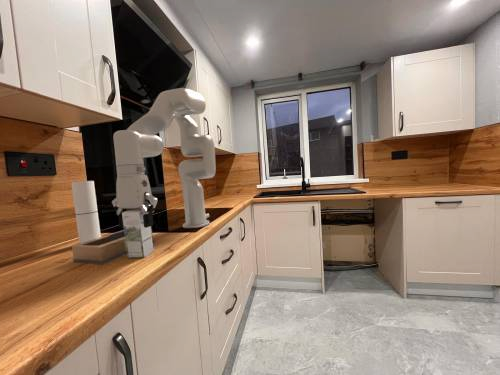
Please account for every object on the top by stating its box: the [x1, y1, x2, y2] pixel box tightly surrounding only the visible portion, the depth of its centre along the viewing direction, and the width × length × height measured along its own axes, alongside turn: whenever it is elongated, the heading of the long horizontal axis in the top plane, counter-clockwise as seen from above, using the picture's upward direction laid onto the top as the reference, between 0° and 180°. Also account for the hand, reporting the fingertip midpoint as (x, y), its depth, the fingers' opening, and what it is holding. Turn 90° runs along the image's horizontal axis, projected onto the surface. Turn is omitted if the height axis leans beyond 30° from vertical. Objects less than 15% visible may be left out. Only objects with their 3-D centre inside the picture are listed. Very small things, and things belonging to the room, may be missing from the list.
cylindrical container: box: [71, 180, 102, 244], centre depth 89 cm, size 7×7×25 cm
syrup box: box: [122, 208, 155, 259], centre depth 70 cm, size 6×6×14 cm
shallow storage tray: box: [71, 228, 154, 265], centre depth 76 cm, size 20×13×5 cm, turn 161°
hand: (136, 226), depth 69 cm, fingers open, 9 cm apart
